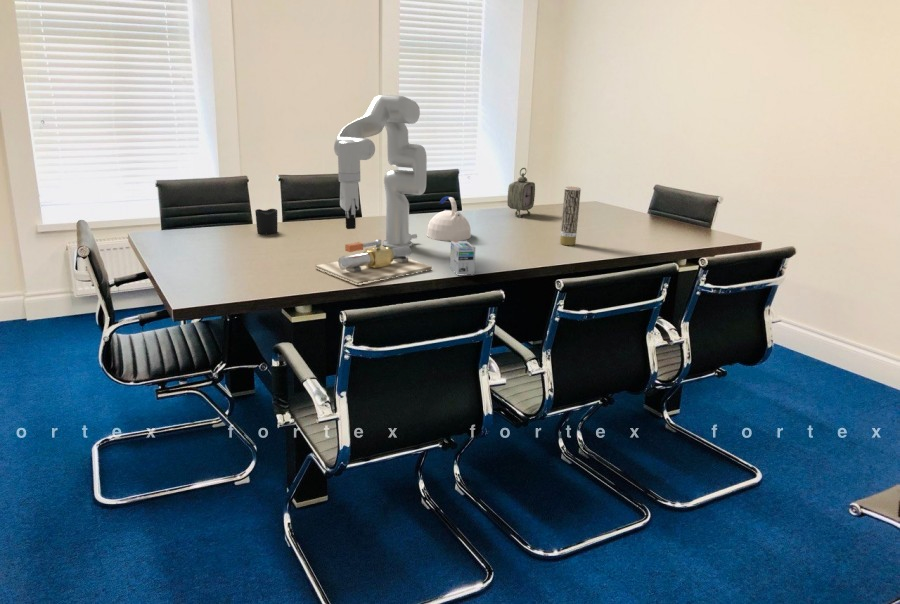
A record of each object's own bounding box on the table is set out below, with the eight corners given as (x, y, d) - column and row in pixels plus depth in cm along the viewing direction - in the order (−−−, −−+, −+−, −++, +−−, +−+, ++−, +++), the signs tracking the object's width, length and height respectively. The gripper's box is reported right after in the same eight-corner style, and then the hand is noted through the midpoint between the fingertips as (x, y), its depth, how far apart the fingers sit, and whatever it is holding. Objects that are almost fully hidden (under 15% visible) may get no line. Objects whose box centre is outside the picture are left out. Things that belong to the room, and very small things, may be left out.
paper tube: (564, 241, 310) (569, 186, 302) (577, 244, 306) (583, 188, 298) (557, 244, 304) (562, 187, 296) (571, 246, 301) (576, 189, 293)
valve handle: (345, 250, 244) (345, 244, 243) (378, 244, 254) (378, 238, 253) (349, 252, 242) (349, 246, 241) (382, 245, 252) (382, 239, 252)
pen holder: (270, 235, 301) (269, 213, 297) (252, 233, 303) (251, 211, 300) (282, 231, 309) (281, 209, 306) (264, 229, 312) (263, 207, 309)
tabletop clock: (520, 218, 356) (524, 169, 348) (505, 216, 360) (508, 168, 352) (533, 214, 367) (536, 167, 359) (518, 212, 372) (521, 165, 364)
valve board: (388, 255, 275) (388, 252, 275) (431, 270, 258) (431, 266, 257) (315, 269, 253) (315, 265, 253) (357, 286, 235) (357, 282, 235)
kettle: (437, 242, 300) (438, 201, 294) (419, 232, 317) (420, 193, 312) (478, 240, 308) (480, 199, 302) (459, 230, 325) (461, 192, 320)
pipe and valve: (402, 258, 266) (402, 239, 264) (412, 262, 262) (412, 242, 260) (337, 271, 246) (336, 250, 244) (346, 275, 242) (346, 253, 240)
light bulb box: (474, 275, 253) (476, 246, 250) (457, 276, 252) (458, 247, 248) (466, 267, 263) (467, 240, 260) (449, 268, 261) (450, 240, 258)
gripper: (334, 173, 244) (335, 224, 251) (343, 181, 231) (345, 234, 237) (355, 173, 247) (356, 223, 253) (365, 180, 234) (366, 232, 240)
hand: (350, 228), depth 245 cm, fingers closed
